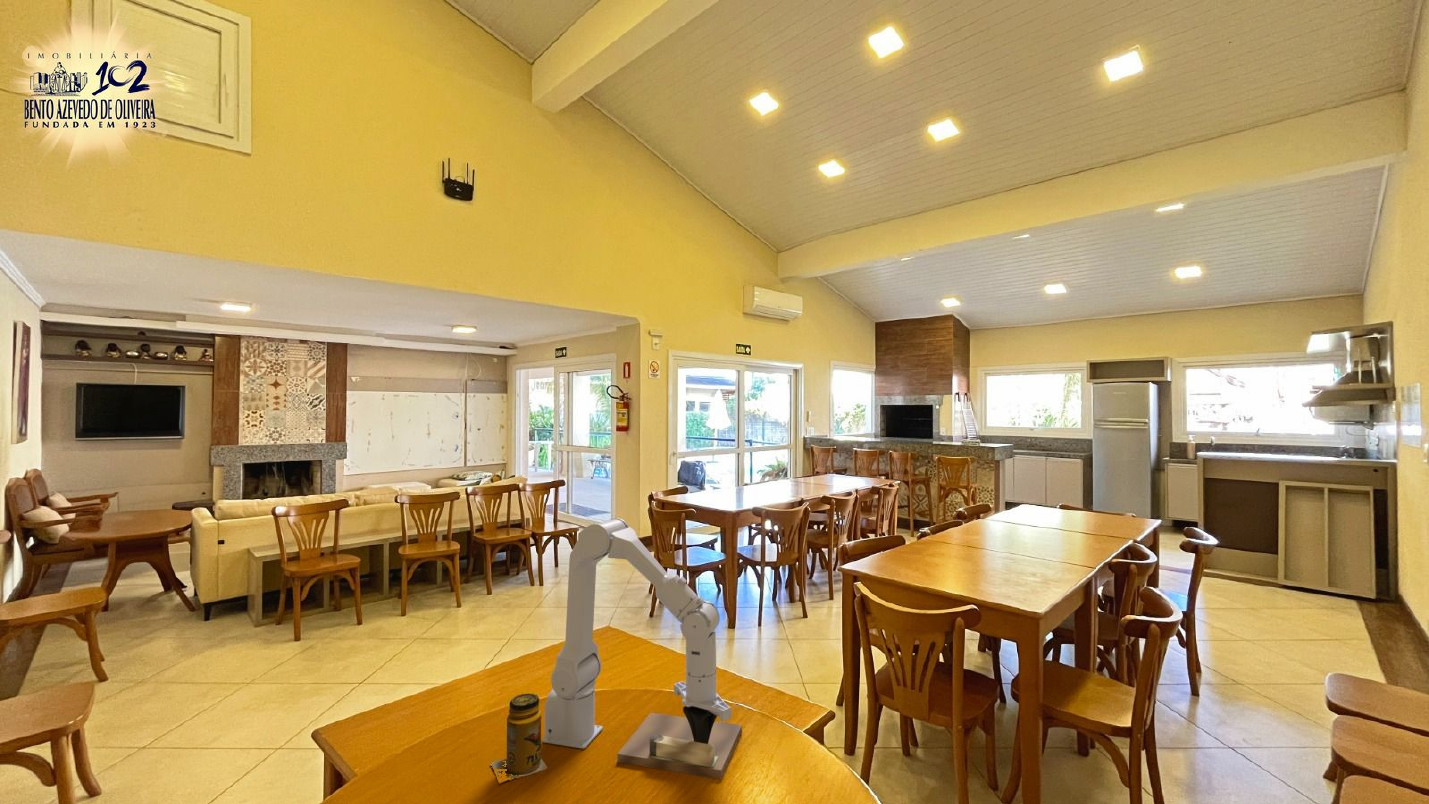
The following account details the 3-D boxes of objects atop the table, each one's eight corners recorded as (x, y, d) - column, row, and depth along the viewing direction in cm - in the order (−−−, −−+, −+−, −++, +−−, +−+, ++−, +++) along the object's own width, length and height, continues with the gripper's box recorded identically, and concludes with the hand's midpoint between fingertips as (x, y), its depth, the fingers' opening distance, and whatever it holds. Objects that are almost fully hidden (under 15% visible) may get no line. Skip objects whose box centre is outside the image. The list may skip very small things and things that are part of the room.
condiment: (547, 769, 101) (548, 701, 102) (498, 785, 97) (499, 714, 97) (536, 750, 107) (536, 686, 108) (489, 765, 103) (490, 698, 103)
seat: (617, 762, 103) (617, 752, 103) (650, 720, 118) (650, 711, 118) (721, 779, 97) (721, 769, 98) (742, 732, 113) (741, 724, 113)
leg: (647, 754, 102) (647, 740, 102) (653, 746, 105) (653, 733, 105) (709, 766, 98) (709, 752, 98) (714, 758, 101) (714, 745, 101)
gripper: (661, 665, 107) (661, 738, 106) (709, 690, 96) (710, 771, 95) (689, 655, 112) (690, 725, 111) (739, 678, 101) (740, 756, 100)
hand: (701, 746), depth 103 cm, fingers closed
